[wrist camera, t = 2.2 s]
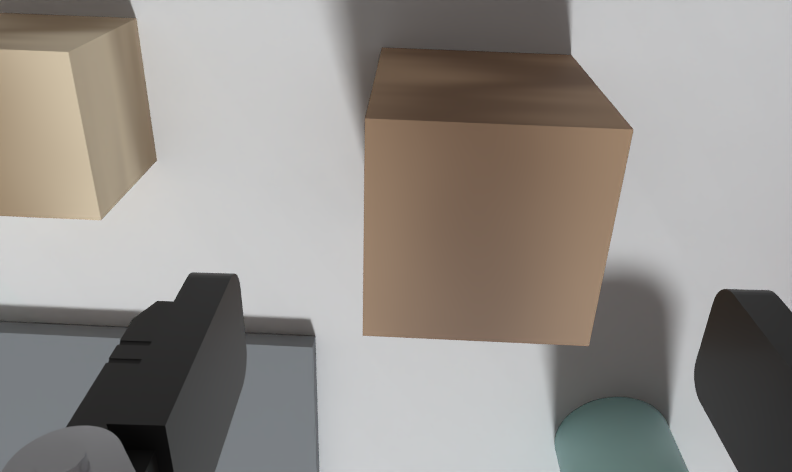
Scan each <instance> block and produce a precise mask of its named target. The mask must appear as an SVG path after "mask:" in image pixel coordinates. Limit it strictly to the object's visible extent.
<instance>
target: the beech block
mask: <svg viewBox="0 0 792 472" xmlns="http://www.w3.org/2000/svg"><path fill="white" fill-rule="evenodd" d="M156 161H157V158H156V151H155V144H154V137H153V131H152V124H151V117H150V110H149V103H148V96H147V89H146V82H145V75H144V68H143V61H142V54H141V47H140V40H139V34H138V27H137V20H136V18H118V17H92V16H67V15H42V14H16V13H0V216H16V217H39V218H62V219H85V220H102V219H103V218H104V217H105V215H106V214H107V213H108V212H109V211H110V210H111V209H112V208H113V207H114V206H115V205H116V204H117V203H118V202H119V200H120V199H121V198H122V197H123V196H124V195H125V194H126V193H127V192H128V191H129V190H130V189H131V188H132V187H133V185H134V184H135V183H136V182H137V181H138V180H139V179H140V178H141V177H142V176H143V175H144V174H145V173H146V172H147V170H148V169H149V168H150V167H151V166H152V165H153V164H154V163H155V162H156Z"/></svg>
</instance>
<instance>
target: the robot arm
mask: <svg viewBox="0 0 792 472" xmlns="http://www.w3.org/2000/svg"><path fill="white" fill-rule="evenodd" d="M246 364H247V348H246V337H245V328H244V318H243V308H242V299H241V289H240V282H239V278H238V276H237V275H236V274H226V273H190V274H189V275H188V277H187V279H186V280H185V282H184V284H183V286H182V288H181V289H180V291H179V293H178V295H177V297H176V299H175V300H174V302H170V301H157V302H155V303H154V304H153V305H151V306H150V307H149V308H147V309H146V310H145V311H143V312H142V313H141V314H139V315H138V316H137V317H135V318H134V319H133V320H132V322H131V323H130V325H129V326H128V328H127V330H126V331H125V333H124V334H123V336H122V338H121V339H120V344H119V345H117V346H116V347H115V349H114V351H113V352H112V354H111V355H110V357H109V362H108V363H105V365H104V367H103V368H102V370H101V371H100V373H99V375H98V376H97V378H96V380H95V381H94V383H93V384H92V386H91V388H90V389H89V391H88V392H87V394H86V396H85V397H84V399H83V400H82V402H81V404H80V405H79V407H78V408H77V410H76V412H75V413H74V415H73V416H72V418H71V420H70V421H69V423H68V425H67V426H66V428H62V429H58V430H55V431H52V432H49V433H47V434H45V435H43V436H40V437H38V438H37V439H35V440H33V441H31V442H30V443H28V444H27V445H25V446H24V447H23V448H21V449H20V450H19V451H18V452H17V453H16V454H15V455H13V457H12V458H11V459H10V460H9V461H8V462H7V464H6V465H5V467H4V469H3V470H2V472H215V470H216V467H217V464H218V461H219V458H220V455H221V452H222V448H223V445H224V442H225V439H226V436H227V433H228V430H229V427H230V424H231V421H232V418H233V415H234V412H235V409H236V406H237V403H238V400H239V396H240V393H241V390H242V387H243V384H244V379H245V374H246ZM694 381H695V388H696V393H697V396H698V399H699V401H700V403H701V405H702V406H703V408H704V410H705V412H706V414H707V416H708V417H709V419H710V421H711V423H712V425H713V427H714V428H715V430H716V432H717V434H718V436H719V438H720V439H721V441H722V443H723V445H724V447H725V448H726V450H727V452H728V454H729V456H730V458H731V459H732V461H733V463H734V465H735V467H736V469H737V470H738V472H792V312H791V311H790V309H789V308H788V307H787V306H786V305H785V304H784V303H783V301H782V300H781V299H780V298H779V297H778V296H777V295H776V294H775V293H774V292H772V291H769V290H737V289H723V290H721V291H720V292H718V294H717V295H716V297H715V299H714V302H713V305H712V308H711V312H710V315H709V318H708V322H707V325H706V329H705V332H704V335H703V339H702V342H701V346H700V349H699V352H698V356H697V359H696V363H695V369H694Z"/></svg>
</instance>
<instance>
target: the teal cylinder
mask: <svg viewBox="0 0 792 472" xmlns="http://www.w3.org/2000/svg"><path fill="white" fill-rule="evenodd" d="M555 450H556V454H557V459H558V463H559V467H560V472H689V471H688V469H687V466H686V464H685V462H684V460H683V458H682V455H681V453H680V451H679V449H678V446H677V444H676V442H675V440H674V438H673V435H672V433H671V431H670V429H669V426H668V424H667V422H666V420H665V418H664V417H663V415H662V414H661V413H660V412H659V411H658V410H657V409H656V408H654V407H653V406H651V405H650V404H648V403H646V402H644V401H640V400H637V399H633V398H627V397H610V398H603V399H598V400H595V401H592V402H589V403H587V404H584V405H583V406H581V407H579V408H577V409H576V410H574V411H573V412H572V413H570V414H569V415H568V416H567V417H566V418H565V419H564V421H563V422H562V423H561V425H560V426H559V428H558V430H557V433H556V436H555Z"/></svg>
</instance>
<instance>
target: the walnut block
mask: <svg viewBox="0 0 792 472" xmlns="http://www.w3.org/2000/svg"><path fill="white" fill-rule="evenodd" d="M632 134H633V128H632V127H631V126H630V125H629V124H628V122H627V121H626V120H625V119H624V118H623V116H622V115H621V114H620V113H619V112H618V110H617V109H616V108H615V107H614V106H613V104H612V103H611V102H610V101H609V100H608V98H607V97H606V96H605V95H604V94H603V92H602V91H601V90H600V89H599V88H598V86H597V85H596V84H595V83H594V82H593V80H592V79H591V78H590V77H589V76H588V74H587V73H586V72H585V71H584V70H583V68H582V67H581V66H580V65H579V64H578V62H577V61H576V60H575V59H574V58H573V56H572V55H559V54H534V53H508V52H483V51H457V50H432V49H407V48H382V50H381V54H380V58H379V62H378V66H377V70H376V75H375V79H374V83H373V87H372V91H371V95H370V100H369V104H368V108H367V112H366V116H365V165H364V265H363V336H383V337H404V338H426V339H447V340H468V341H490V342H511V343H533V344H554V345H575V346H589V343H590V338H591V333H592V328H593V324H594V319H595V314H596V309H597V304H598V299H599V294H600V290H601V285H602V280H603V275H604V270H605V265H606V260H607V256H608V251H609V246H610V241H611V236H612V231H613V226H614V221H615V217H616V212H617V207H618V202H619V197H620V192H621V187H622V183H623V178H624V173H625V168H626V163H627V158H628V153H629V149H630V144H631V139H632Z"/></svg>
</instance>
